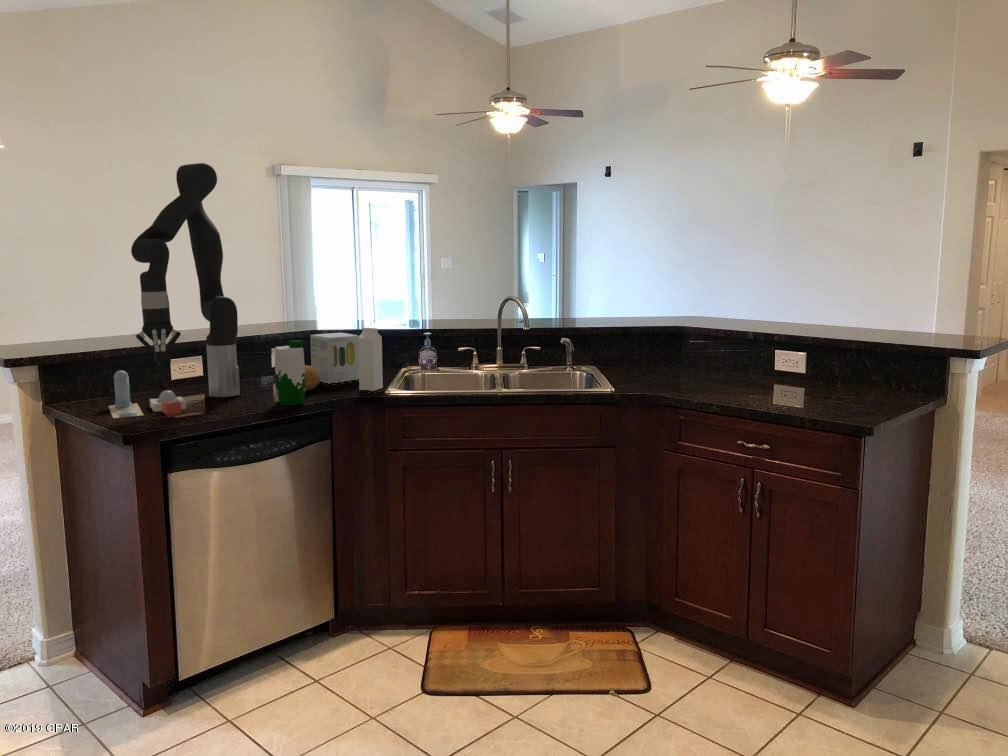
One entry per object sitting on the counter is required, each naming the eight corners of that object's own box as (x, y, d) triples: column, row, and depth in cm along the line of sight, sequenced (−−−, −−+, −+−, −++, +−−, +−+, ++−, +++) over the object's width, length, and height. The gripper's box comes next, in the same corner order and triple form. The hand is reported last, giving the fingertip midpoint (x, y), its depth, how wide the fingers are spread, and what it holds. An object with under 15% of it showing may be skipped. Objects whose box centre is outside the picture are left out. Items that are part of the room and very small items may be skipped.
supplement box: (328, 385, 276) (327, 337, 273) (311, 380, 286) (309, 334, 283) (360, 381, 285) (359, 335, 282) (342, 377, 295) (341, 332, 292)
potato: (278, 392, 261) (277, 365, 259) (309, 387, 271) (308, 361, 270) (295, 396, 255) (294, 368, 254) (327, 390, 266) (326, 364, 264)
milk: (374, 393, 262) (373, 329, 258) (359, 391, 264) (357, 328, 260) (383, 390, 267) (381, 327, 264) (367, 388, 269) (366, 326, 266)
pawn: (131, 403, 236) (128, 368, 235) (132, 406, 232) (129, 370, 231) (114, 405, 234) (111, 370, 232) (115, 407, 230) (112, 372, 228)
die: (176, 413, 227) (176, 399, 226) (181, 415, 224) (180, 401, 223) (162, 414, 224) (162, 401, 224) (167, 417, 222) (166, 403, 221)
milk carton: (307, 404, 241) (305, 341, 238) (277, 406, 238) (274, 342, 235) (304, 399, 249) (302, 338, 246) (275, 401, 246) (272, 339, 243)
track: (137, 405, 237) (137, 403, 237) (144, 417, 220) (144, 415, 220) (108, 408, 233) (108, 405, 233) (113, 420, 216) (113, 417, 216)
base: (181, 406, 238) (181, 396, 237) (186, 411, 230) (185, 401, 229) (150, 408, 233) (149, 399, 233) (153, 414, 225) (153, 404, 225)
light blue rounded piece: (175, 406, 235) (174, 388, 234) (178, 408, 231) (177, 391, 230) (158, 407, 232) (156, 389, 231) (160, 410, 228) (159, 392, 227)
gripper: (177, 304, 234) (182, 360, 237) (129, 307, 227) (135, 364, 230) (181, 306, 228) (186, 363, 231) (132, 308, 221) (138, 367, 224)
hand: (161, 363), depth 231 cm, fingers closed
